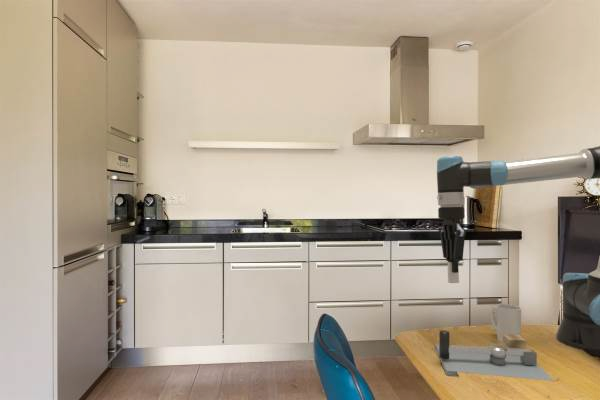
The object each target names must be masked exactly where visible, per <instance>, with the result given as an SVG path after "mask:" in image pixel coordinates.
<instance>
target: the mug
mask: <svg viewBox="0 0 600 400" xmlns="http://www.w3.org/2000/svg"><path fill="white" fill-rule="evenodd" d="M495 314H496V321H495ZM489 315H490V316H489V317H490V323H491V326H492V330H493V332H494V331H495V332H496V335H497V337H496V338H497V341H499V342H500V343H503V334H511V335H520V336H521V332H522V331H521V330H522V328H521V327H522V307H520V306H519V305H515V304H511V303H509V304H508V303H498V304H496V305H493V306H492V309H491V311H490V314H489ZM521 337H522V336H521Z"/></svg>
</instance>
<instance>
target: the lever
mask: <svg viewBox="0 0 600 400" xmlns="http://www.w3.org/2000/svg"><path fill="white" fill-rule="evenodd" d="M438 334H439V336H438V337H439V339H438V340H439V342H438V344H439V356H438V358H439V357H440V358H442V359H449V353H468V354H489V355H491V356H493V357H496V358H506V357H507V355H516V356H520V361H521V362H522V363H524V364H525V365H537V364H538V361H537V360H538V354H537V352H536V351H534V350H533V349H529V348H526V349H515V348H506V347H504V346H503V345H502V344H501V345H500V344H495V343H494V344H488V346H482V345H481V346H478V345H477V346H476V345H460V344H459V345H458V344H457V345H456V344H450V331H448V330H446V329H445V330H444V329H441V330H439V333H438ZM440 358H439V359H440Z"/></svg>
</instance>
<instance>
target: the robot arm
mask: <svg viewBox="0 0 600 400" xmlns="http://www.w3.org/2000/svg"><path fill="white" fill-rule="evenodd" d="M572 178H583V179H585V180H592V179H594V180H595V179H600V145H599V146H595V147H589V148H583V149H581V150H580V151H579V152H576V153H575V152H574V153H568V154H560V155H552V156H545V157H537V158H529V159H528V158H527V159H521V160H513V161H504V160H489V161H487V160H485V161H484V160H483V161H473V162H470V161H469V162H466V161H464V158H463V157H462V155H461V156H460V155H448V156H447V155H446V156H442V157H439V158H438V159H437V161H436V180H437V184H436V185H437V196H436V199H437V205H438V206H439V207H438V209H437V211H438V213H437V215H438V216H437V218H438V219H439V220H442V227H438V232H439V237H440V241H441V242H440V243H441V250H442V257H443V258H444V259H445V260H446V262H447V283H449V284H459V283H460V275H459V271H460V270H459V262H461V261H463V259H464V249H465V238H466V235H467V230H466V229H463V228H462V223H461V220H463V219H465V208H464V205H465V193H464V192H465V191H464V190H465V187H467V188H471V189H475V190H476V189H481V188H488V187H489V188H491V187H496V186H507V185H515V184H524V183H534V182H544V181H552V180H553V181H554V180H564V179H572ZM561 284H562V320H561V322H560V324H559V327H558V328H557V331H556V335H555V339H556V340H557V342H559V343H561V344H563V345H565V346H567V347H571V348H574V349H577V350H581V351H583V352H585V353H586V354H588V356H589V355H590V356H595V357H596V356H599V357H600V256H599V258H598V262H597V267H596V269H595V270H593V271H591V272H589V273H583V272H565V273H564V274H563V277H562V281H561Z"/></svg>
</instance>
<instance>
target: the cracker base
mask: <svg viewBox="0 0 600 400" xmlns="http://www.w3.org/2000/svg"><path fill="white" fill-rule="evenodd" d="M434 347H435V348H434V349H435V351H436V353H437V356H438V358H439V360H440V362H441V363H440V364H441V365H442V367H443V370H444V372H445V375H446V376H449V377H450V376H452V377H460V375H459V373H470V374H479V375H486V376H487V375H489V376H498V377H499V376H500V377H507V378H508V377H509V378H518V379H527V380H528V379H530V380H541V381H550V382H551V381H552V382H555V380H554V379H553V378H552V377H551V376H550V375H549V373H547V372H546V371H545V370H544V369H543V368H542V367H541V366H540V365H539V364H538V363H537V365H525V364H524V363H522V362H521V361H520V356H512V355H507V357H506V358H496V357H493V356H491V355H489V354H468V353H449V359H442V358H440V357H439V343H435V345H434Z"/></svg>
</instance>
